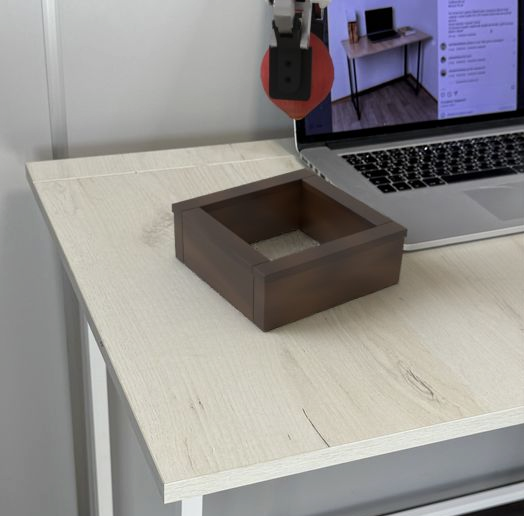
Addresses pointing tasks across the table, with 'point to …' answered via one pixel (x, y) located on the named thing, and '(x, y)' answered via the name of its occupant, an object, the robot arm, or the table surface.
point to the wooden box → (294, 265)
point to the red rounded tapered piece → (320, 80)
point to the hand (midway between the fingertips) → (296, 82)
